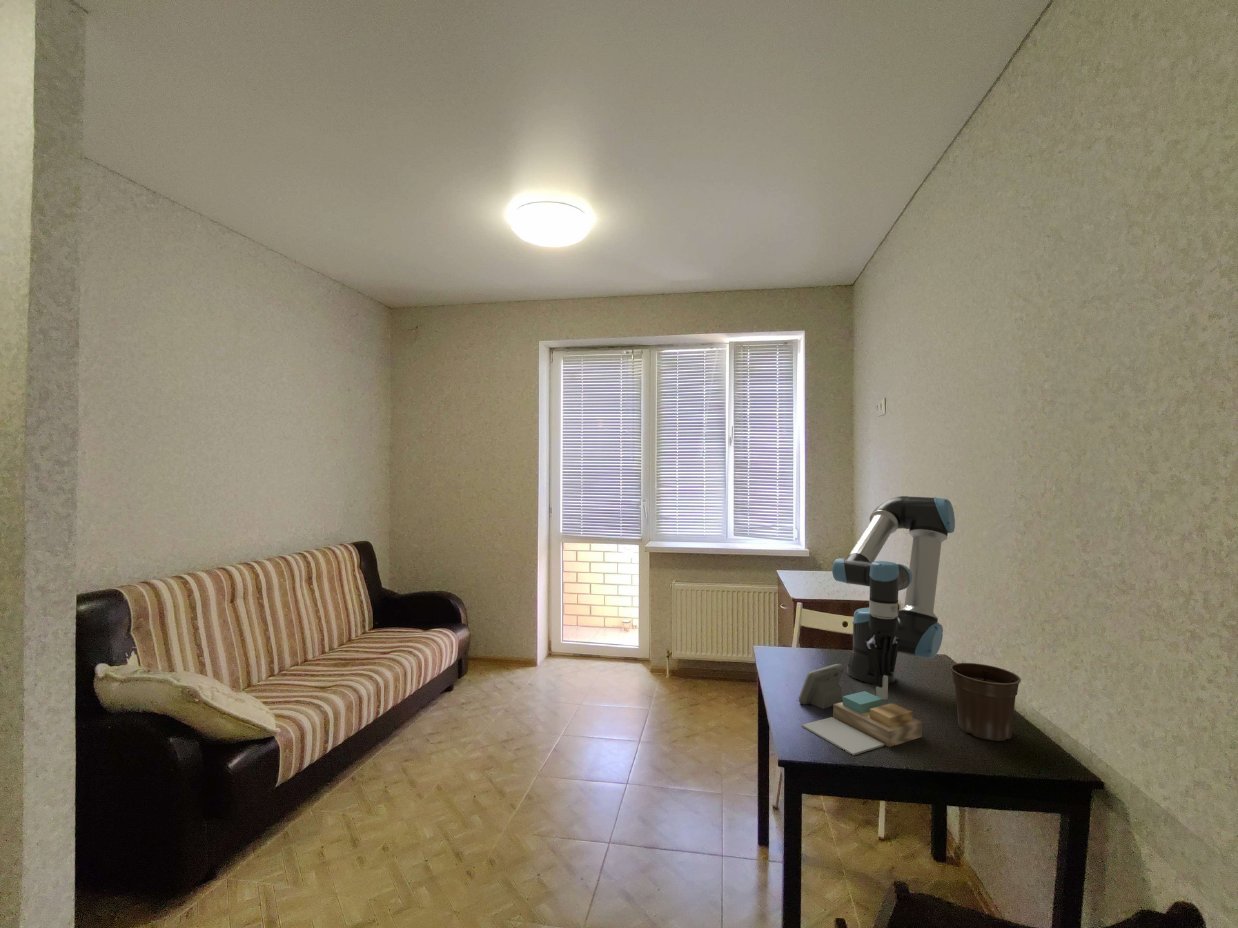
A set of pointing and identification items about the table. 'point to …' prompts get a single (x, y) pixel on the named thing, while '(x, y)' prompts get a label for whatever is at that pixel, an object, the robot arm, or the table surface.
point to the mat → (843, 735)
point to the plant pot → (985, 700)
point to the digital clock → (822, 687)
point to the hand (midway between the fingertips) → (881, 697)
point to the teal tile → (862, 701)
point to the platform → (878, 726)
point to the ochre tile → (890, 715)
